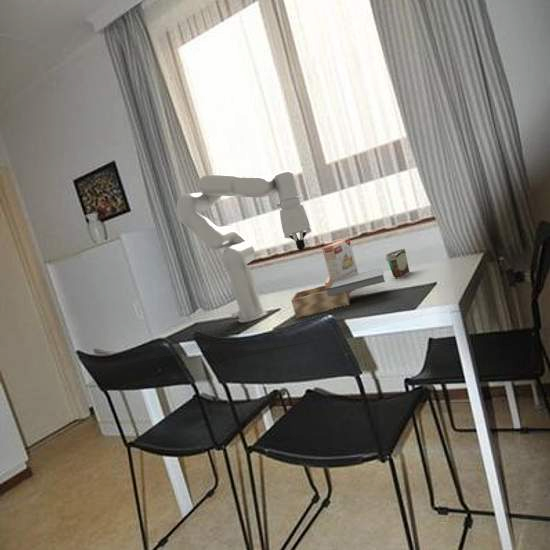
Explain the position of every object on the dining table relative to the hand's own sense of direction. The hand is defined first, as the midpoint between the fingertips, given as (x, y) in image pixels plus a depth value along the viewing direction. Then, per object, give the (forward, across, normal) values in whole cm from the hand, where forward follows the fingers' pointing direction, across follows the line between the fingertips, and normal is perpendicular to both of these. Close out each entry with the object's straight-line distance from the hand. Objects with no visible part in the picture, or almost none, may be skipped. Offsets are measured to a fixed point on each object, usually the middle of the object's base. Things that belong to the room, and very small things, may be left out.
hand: (301, 249), depth 181 cm
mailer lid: (+17, +18, -6) cm, 25 cm away
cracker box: (+23, +13, +12) cm, 29 cm away
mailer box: (+22, +4, -7) cm, 24 cm away
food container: (+22, +33, +19) cm, 44 cm away
